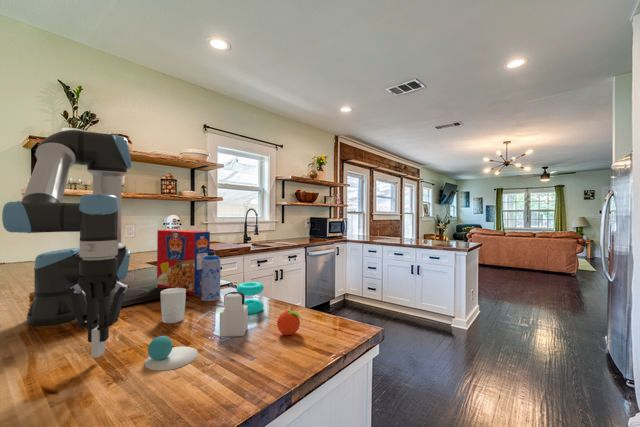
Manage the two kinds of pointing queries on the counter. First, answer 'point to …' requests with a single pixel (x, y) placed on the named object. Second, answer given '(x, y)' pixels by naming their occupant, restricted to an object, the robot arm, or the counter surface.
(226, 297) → the medicine bottle
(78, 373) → the counter surface
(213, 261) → the aerosol can
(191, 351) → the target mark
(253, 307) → the donuts
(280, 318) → the clementine
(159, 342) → the ball
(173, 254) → the pasta box
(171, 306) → the white cup
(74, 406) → the counter surface
